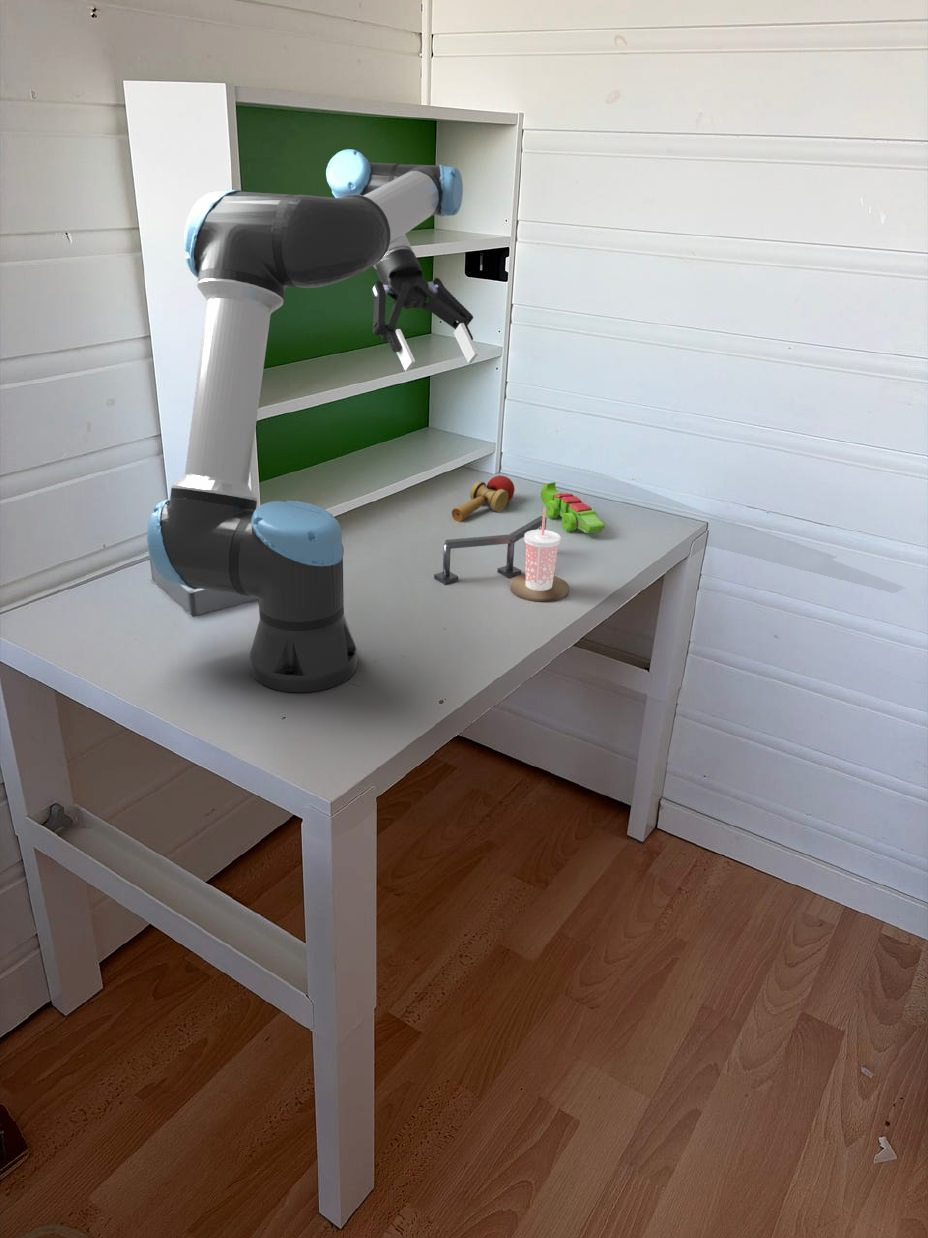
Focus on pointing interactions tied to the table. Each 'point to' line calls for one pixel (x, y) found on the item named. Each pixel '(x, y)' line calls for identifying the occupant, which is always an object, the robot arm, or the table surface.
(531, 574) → the beverage cup
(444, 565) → the bent rail
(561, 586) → the walnut pad
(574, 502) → the toy crocodile
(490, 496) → the kendama
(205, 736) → the table surface
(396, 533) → the table surface
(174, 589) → the slate open-top tray
